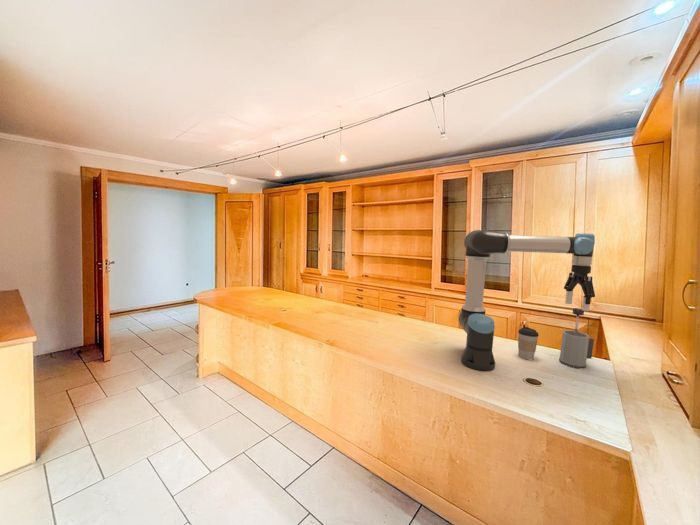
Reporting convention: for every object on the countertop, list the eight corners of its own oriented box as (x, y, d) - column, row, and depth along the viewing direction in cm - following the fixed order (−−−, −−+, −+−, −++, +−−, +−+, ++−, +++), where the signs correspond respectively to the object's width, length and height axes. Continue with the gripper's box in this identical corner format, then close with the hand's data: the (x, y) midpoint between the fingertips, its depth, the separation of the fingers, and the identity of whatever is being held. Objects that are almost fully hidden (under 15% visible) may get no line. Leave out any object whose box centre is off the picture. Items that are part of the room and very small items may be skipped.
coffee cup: (539, 361, 149) (542, 332, 148) (519, 359, 151) (522, 330, 149) (531, 354, 158) (534, 327, 157) (513, 352, 160) (516, 325, 158)
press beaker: (566, 367, 143) (570, 336, 142) (554, 358, 154) (557, 329, 152) (597, 370, 142) (601, 338, 140) (582, 360, 152) (586, 331, 151)
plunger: (571, 341, 144) (575, 310, 142) (563, 336, 151) (566, 306, 149) (587, 342, 143) (591, 311, 141) (578, 337, 150) (581, 307, 148)
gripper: (608, 268, 133) (602, 314, 135) (574, 262, 158) (569, 301, 160) (590, 267, 134) (584, 313, 136) (559, 261, 159) (554, 300, 161)
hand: (576, 307), depth 148 cm, fingers open, 13 cm apart
